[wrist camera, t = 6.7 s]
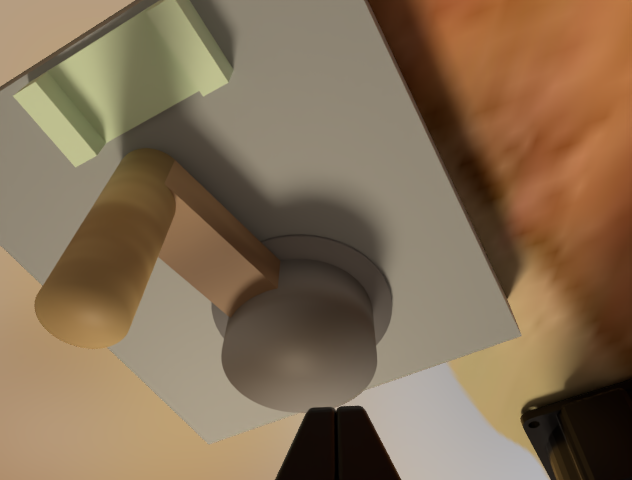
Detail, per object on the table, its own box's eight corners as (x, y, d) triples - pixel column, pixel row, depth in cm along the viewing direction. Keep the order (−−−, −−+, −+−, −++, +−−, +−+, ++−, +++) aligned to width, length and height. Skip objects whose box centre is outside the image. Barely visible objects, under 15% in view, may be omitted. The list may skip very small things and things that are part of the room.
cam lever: (400, 324, 20) (424, 478, 16) (293, 383, 22) (284, 537, 17) (186, 104, 16) (123, 223, 11) (72, 200, 18) (-25, 340, 13)
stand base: (507, 300, 23) (529, 355, 20) (215, 407, 27) (205, 465, 24) (314, -114, 15) (312, -105, 12) (-61, 125, 19) (-118, 168, 16)
